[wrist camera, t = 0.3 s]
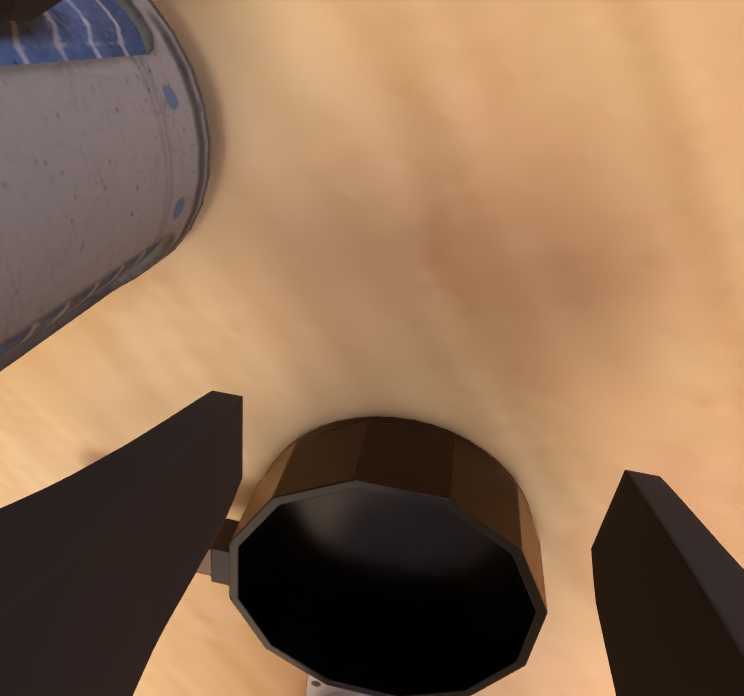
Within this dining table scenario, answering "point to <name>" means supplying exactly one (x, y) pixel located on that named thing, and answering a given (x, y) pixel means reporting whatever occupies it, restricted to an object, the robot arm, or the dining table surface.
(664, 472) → the dining table surface
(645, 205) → the dining table surface
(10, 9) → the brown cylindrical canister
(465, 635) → the skillet
